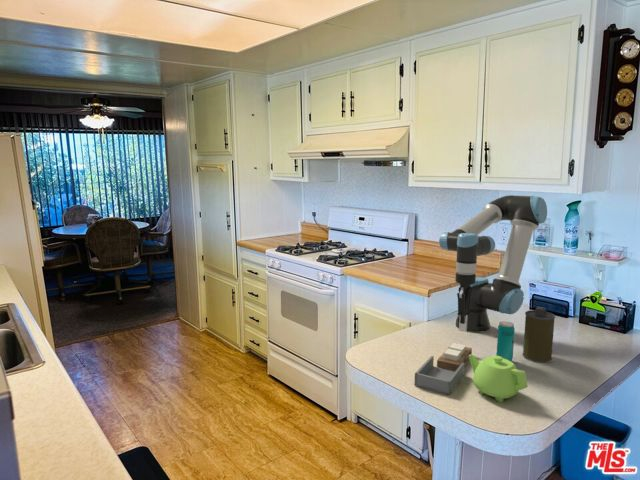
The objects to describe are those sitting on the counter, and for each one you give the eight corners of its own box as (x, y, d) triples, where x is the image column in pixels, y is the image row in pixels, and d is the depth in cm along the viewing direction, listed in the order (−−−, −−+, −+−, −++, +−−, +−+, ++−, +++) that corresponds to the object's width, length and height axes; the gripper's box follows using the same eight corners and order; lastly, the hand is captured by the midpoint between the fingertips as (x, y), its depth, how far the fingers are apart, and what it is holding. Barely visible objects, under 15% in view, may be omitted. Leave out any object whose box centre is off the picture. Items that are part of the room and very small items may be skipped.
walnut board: (451, 351, 180) (451, 344, 179) (471, 355, 175) (471, 348, 175) (436, 367, 165) (437, 360, 164) (458, 372, 160) (458, 365, 160)
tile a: (452, 347, 175) (453, 342, 175) (465, 350, 173) (465, 345, 172) (448, 352, 171) (449, 347, 171) (462, 354, 169) (462, 349, 168)
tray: (431, 366, 165) (431, 355, 165) (463, 374, 159) (464, 363, 158) (414, 385, 151) (414, 373, 151) (449, 394, 145) (449, 382, 144)
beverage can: (513, 365, 166) (516, 326, 164) (497, 363, 167) (499, 325, 165) (510, 358, 172) (512, 321, 170) (495, 357, 173) (497, 320, 171)
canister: (549, 365, 166) (553, 313, 163) (519, 358, 172) (522, 308, 169) (554, 355, 175) (558, 306, 171) (526, 349, 181) (529, 301, 178)
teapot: (457, 387, 150) (458, 352, 148) (479, 376, 158) (481, 342, 156) (513, 412, 134) (516, 373, 132) (535, 398, 142) (538, 361, 140)
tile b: (447, 353, 170) (447, 348, 170) (460, 356, 167) (461, 351, 167) (443, 358, 166) (443, 353, 166) (457, 361, 163) (457, 355, 163)
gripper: (460, 268, 181) (457, 324, 184) (451, 274, 170) (448, 333, 174) (479, 270, 177) (476, 327, 180) (471, 277, 166) (467, 337, 170)
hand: (462, 330), depth 177 cm, fingers closed
